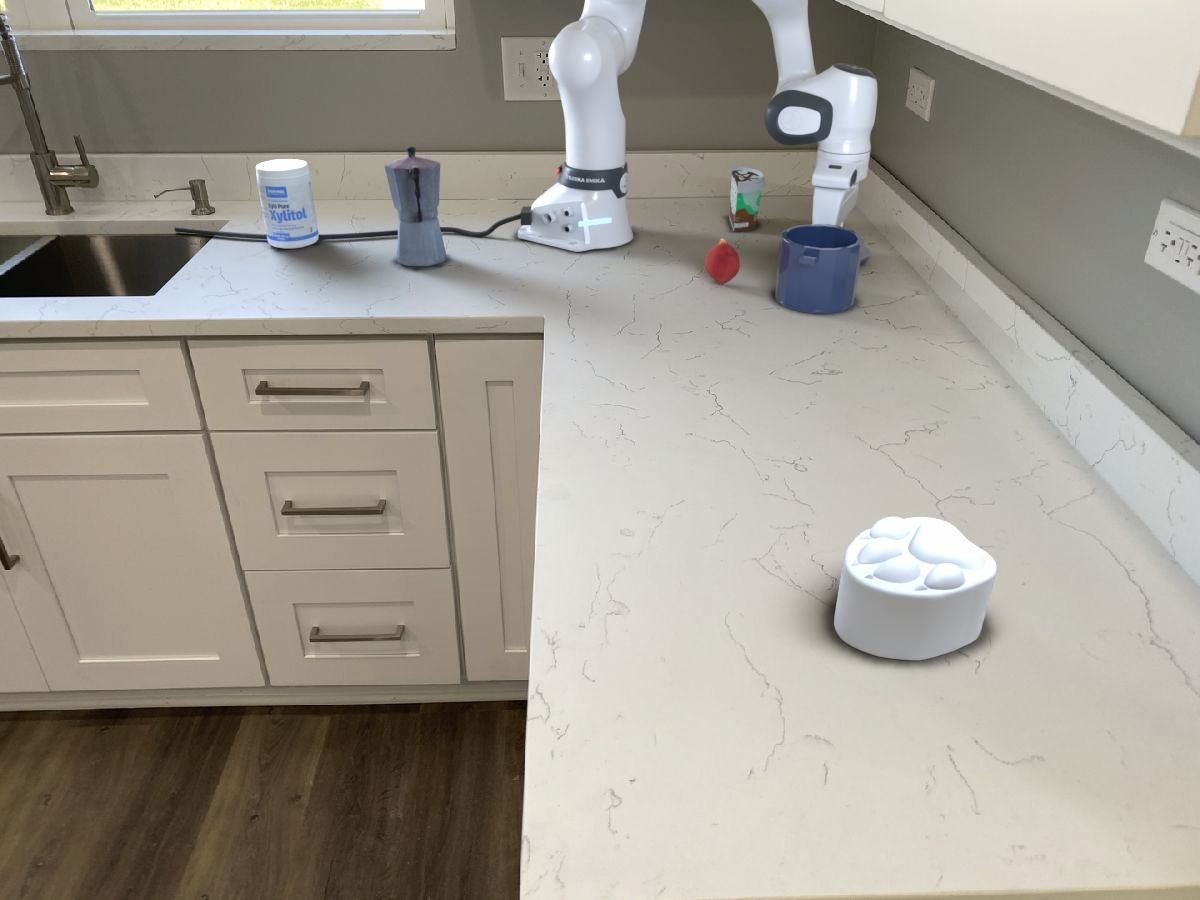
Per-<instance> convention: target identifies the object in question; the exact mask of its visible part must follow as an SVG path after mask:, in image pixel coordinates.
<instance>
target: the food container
mask: <svg viewBox="0 0 1200 900" xmlns="http://www.w3.org/2000/svg"><path fill="white" fill-rule="evenodd" d="M764 175H765V174H764V172H762V171H761V170H758V169H755V168H750V167H744V166H731V169H730V188H729V189H730V191H729V206H728V219H729V222H730V225H731V228H732V230H733V232H745V231H750V230H753V229H755V228H756V226H757V222H758V217H759V211H760V205H761V204H760V203H761V196H762V190H764V189H765V188H766V185H767V184H766V177H765V176H764Z"/></svg>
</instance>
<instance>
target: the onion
mask: <svg viewBox="0 0 1200 900" xmlns="http://www.w3.org/2000/svg"><path fill="white" fill-rule="evenodd" d="M706 254H707V255H706V257H705V261H704V267H705V269H704V270H705V271H706V273H707V274H708V276H709V277H710V278H711V279H712V280H713V281H714V282H715V283H716V284H717V285H720V286H722V285H725V284H726V283H729V282H730V281H731V280H733V279H734V278H735V277H736V276H737V275H738V273H739V271H740V267H741V264H740V263H741V261H740V256H739V253H738V252H737V250H736V249H735V248H734V247H733V246H732V245H731V244H729V243H728V242H727V241H726V239H725V238H723V237H722V238H720V239H719V243H718V244H716V245H715V246H713V247H712V248H711V249H710V250H709V251H708V252H707V253H706Z"/></svg>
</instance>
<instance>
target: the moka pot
mask: <svg viewBox="0 0 1200 900" xmlns="http://www.w3.org/2000/svg"><path fill="white" fill-rule="evenodd" d="M406 151H407V155H408V156H404V157H401V158H396V159H392V160H391V161H389V162H386V163H385V164H384V171H385V175H386V180H387V183H388V187H389V188H388V189H389V191H390V195H391V200H392V203H393V208H394V209H396V216H397V219H398V220H397V230H398V235H397V245H396V247H397V249H396V250H397V251H396V252H397V253H396V259H397V262H398V263H399V264H400V265H403V266H408V267H430V266H435V265H438V264H440V263H443V262H445V261H446V260H447V252H446V248H445V243H444V239H443V234H442V233H443V232H441V229H440V227H441V225H440V221H439V218H438V215H439V214H438V213H439V212H438V211H439V210H438V208H439V205H440V189H441V183H440V182H441V162H440V161H437V160H434V159H431V158H427V157H422V156H416V151H417V149H416V147H414V146H409V147H407V148H406Z"/></svg>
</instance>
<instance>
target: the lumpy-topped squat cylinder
mask: <svg viewBox="0 0 1200 900" xmlns="http://www.w3.org/2000/svg"><path fill="white" fill-rule="evenodd" d="M997 572H998V566H997V562H996V560H995V559H994V557H993V556H992V555H991V554H989V553H988V552H987V551H986V550H984V549H982V548H981V547H980V546H978V545H976V544H974V542H972V541H970V540H969V539H968V538H966V536H964V534H963V533H962V532H961V531H960V530H959V529H958V528H957V527H956V526H954V525H953V524H952V523H950V522H948V521H946V520H943V519H939V518H935V517H929V516H928V517H927V516H914V517H913V516H912V517H907V518H901V517H899V516H886V517H884V518H883V517H882V518H881V519H879V520H878V521H876V522H875V523H874V525H872V527H870V528H868V529H865V530H863V531H862V532H860V533H859V534H858V535H857V536H856V537H855V538H854V539H853V540H852V541H851V543H850V544H849V545H848V546H847V548H846V550H845V553H844V557H843V562H842V566H841V575H840V579H839V586H838V590H837V591H838V592H837V598H836V604H835V611H834V618H833V627H834V629H835V632H836V634H837V635H838V637H839V638H840V639H841V640H842V641H843V642H845V643H846V644H847V645H849V646H850V647H852V648H854V649H856V650H858V651H861V652H864V653H867V654H869V655H872V656H876V657H879V658H885V659H892V660H903V661H923V660H928V659H933V658H936V657H940V656H943V655H946V654H949V653H952V652H955V651H957V650H959V649H962V648H964V647H965V646H966V647H967V646H968V645H970V644H972V643H974V642H975V641H976V640H977V639H978V638H979V637H980V635H981V632H982V628H983V626H984V625H983V624H984V621H985V617H986V614H987V611H988V607H989V603H990V600H991V595H992V591H993V588H994V583H995V579H996V576H997Z"/></svg>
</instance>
